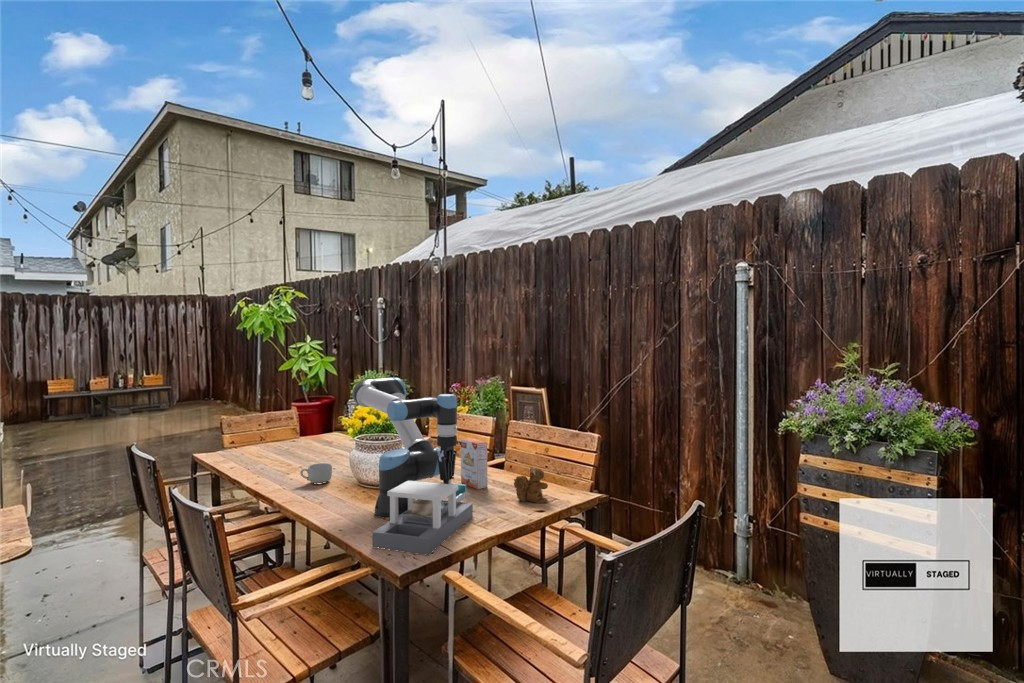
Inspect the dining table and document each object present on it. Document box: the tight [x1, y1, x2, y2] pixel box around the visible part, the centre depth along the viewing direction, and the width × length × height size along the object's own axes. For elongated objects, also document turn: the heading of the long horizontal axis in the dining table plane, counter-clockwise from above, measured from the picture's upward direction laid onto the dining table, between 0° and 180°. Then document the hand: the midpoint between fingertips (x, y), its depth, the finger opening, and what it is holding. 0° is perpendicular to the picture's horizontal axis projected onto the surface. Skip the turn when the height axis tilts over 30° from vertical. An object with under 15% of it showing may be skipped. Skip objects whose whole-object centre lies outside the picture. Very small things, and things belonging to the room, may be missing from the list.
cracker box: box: [460, 437, 488, 490], centre depth 231 cm, size 14×6×21 cm, turn 37°
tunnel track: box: [371, 480, 474, 556], centre depth 177 cm, size 20×36×16 cm, turn 162°
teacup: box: [299, 462, 333, 484], centre depth 236 cm, size 14×11×8 cm
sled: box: [402, 482, 467, 525], centre depth 184 cm, size 11×30×5 cm, turn 162°
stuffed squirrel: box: [513, 467, 549, 504], centre depth 210 cm, size 10×14×13 cm
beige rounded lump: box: [412, 499, 433, 516], centre depth 175 cm, size 6×6×6 cm
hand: (447, 496), depth 193 cm, fingers closed
